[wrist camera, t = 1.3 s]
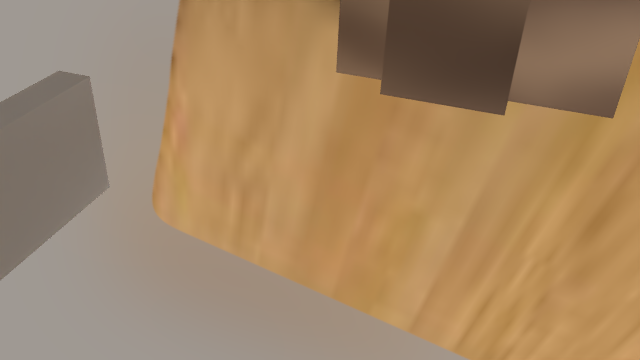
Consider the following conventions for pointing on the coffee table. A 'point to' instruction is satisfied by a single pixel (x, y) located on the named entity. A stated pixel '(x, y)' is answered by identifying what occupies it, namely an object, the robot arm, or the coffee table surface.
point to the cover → (493, 51)
